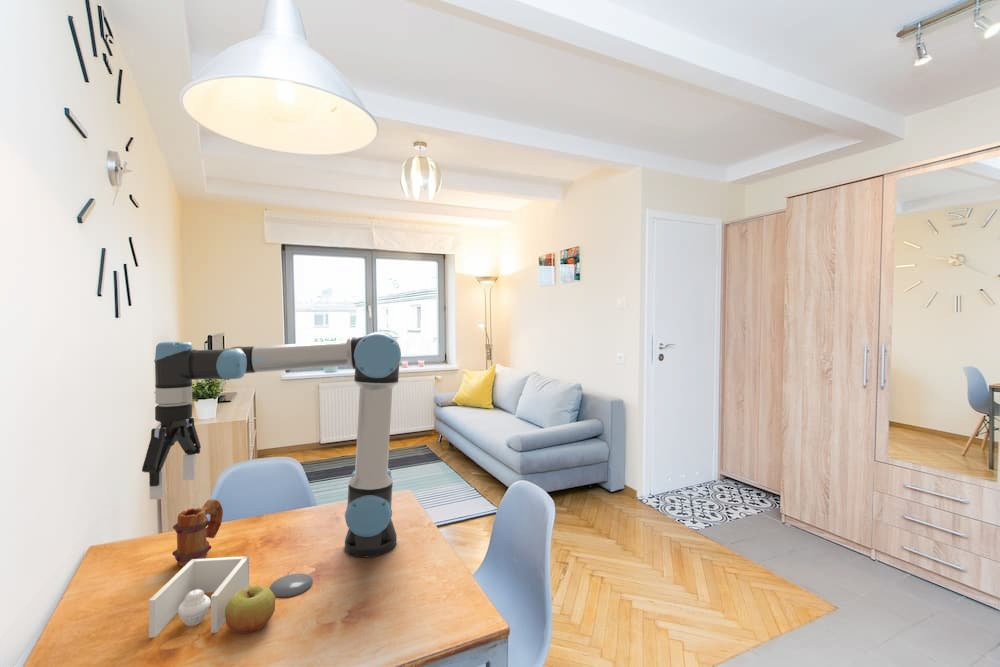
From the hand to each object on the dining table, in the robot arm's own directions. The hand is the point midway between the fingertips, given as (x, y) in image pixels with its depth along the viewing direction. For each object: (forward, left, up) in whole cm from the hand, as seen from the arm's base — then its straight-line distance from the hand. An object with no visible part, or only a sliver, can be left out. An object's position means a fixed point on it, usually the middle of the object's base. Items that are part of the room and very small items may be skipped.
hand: (173, 488), depth 114 cm
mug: (+1, -16, -26) cm, 30 cm away
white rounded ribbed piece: (-12, +14, -26) cm, 31 cm away
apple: (-24, +17, -26) cm, 39 cm away
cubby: (-12, +10, -25) cm, 30 cm away
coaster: (-29, +2, -25) cm, 38 cm away
